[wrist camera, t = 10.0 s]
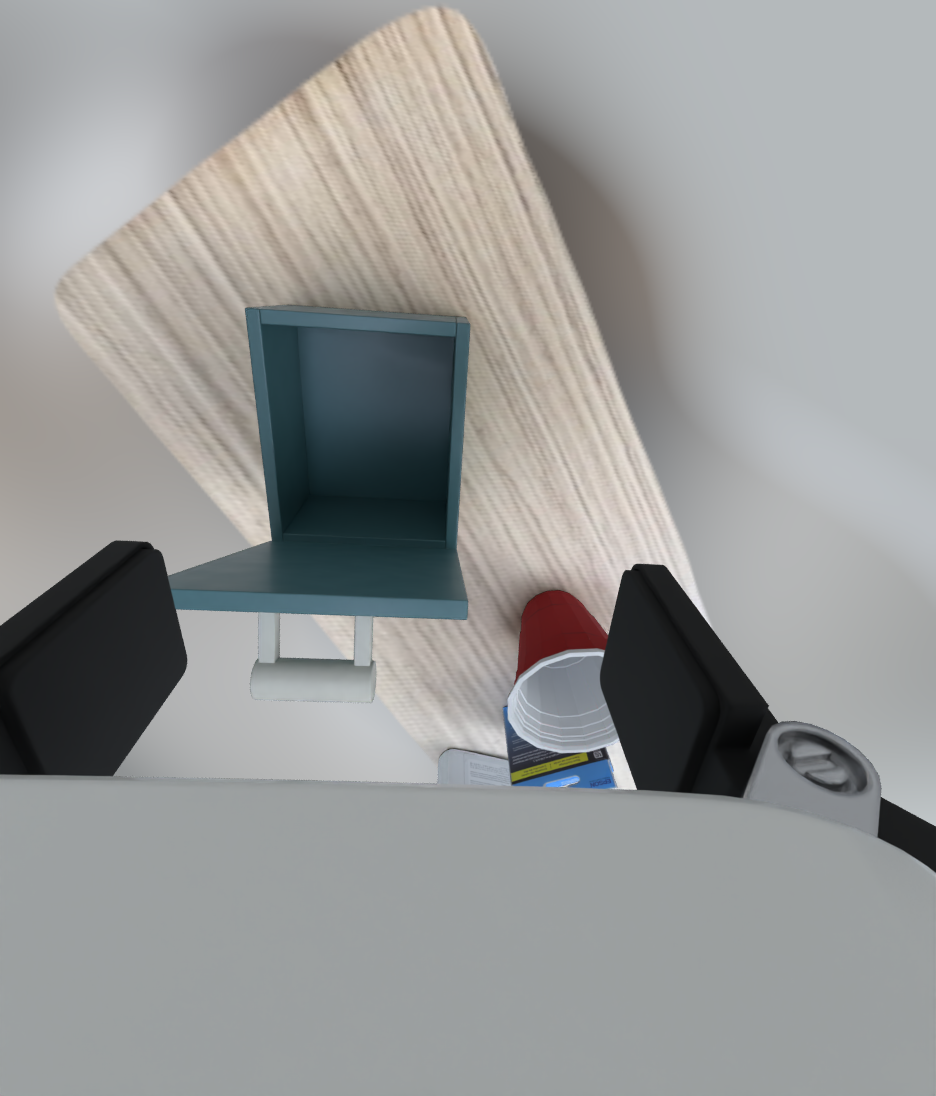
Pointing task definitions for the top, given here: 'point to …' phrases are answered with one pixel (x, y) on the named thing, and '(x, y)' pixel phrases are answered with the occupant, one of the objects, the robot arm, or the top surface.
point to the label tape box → (555, 765)
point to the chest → (360, 423)
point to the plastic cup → (560, 677)
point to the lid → (324, 605)
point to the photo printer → (472, 769)
